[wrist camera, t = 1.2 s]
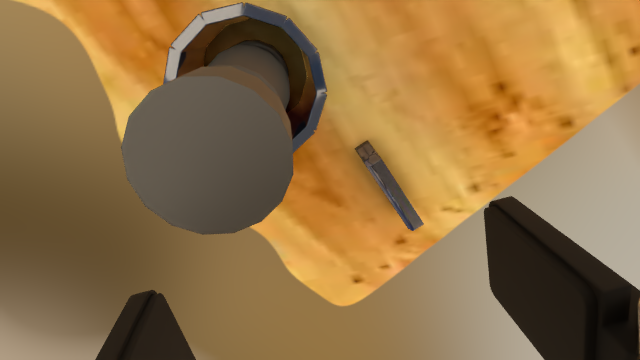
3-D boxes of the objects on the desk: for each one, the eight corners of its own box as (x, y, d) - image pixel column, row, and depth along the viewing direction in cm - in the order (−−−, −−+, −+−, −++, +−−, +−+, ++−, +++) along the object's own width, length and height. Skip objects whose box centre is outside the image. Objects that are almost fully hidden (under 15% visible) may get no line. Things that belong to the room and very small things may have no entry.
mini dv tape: (354, 148, 40) (366, 168, 34) (367, 140, 40) (381, 158, 34) (393, 206, 43) (410, 233, 37) (405, 198, 42) (424, 224, 37)
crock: (176, 27, 34) (138, 27, 25) (297, -3, 34) (304, -14, 25) (217, 143, 38) (197, 181, 29) (324, 117, 38) (339, 145, 29)
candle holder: (218, 101, 37) (111, 229, 14) (225, 33, 35) (113, 47, 11) (282, 113, 38) (285, 250, 15) (293, 47, 36) (317, 86, 12)
